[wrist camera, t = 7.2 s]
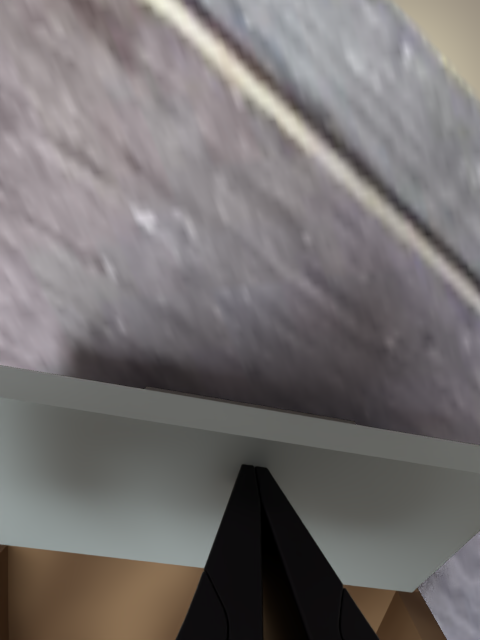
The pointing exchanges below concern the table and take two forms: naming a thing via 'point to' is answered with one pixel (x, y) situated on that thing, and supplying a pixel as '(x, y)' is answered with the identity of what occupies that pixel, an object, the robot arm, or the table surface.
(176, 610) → the tray
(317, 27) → the table surface
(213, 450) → the panel
